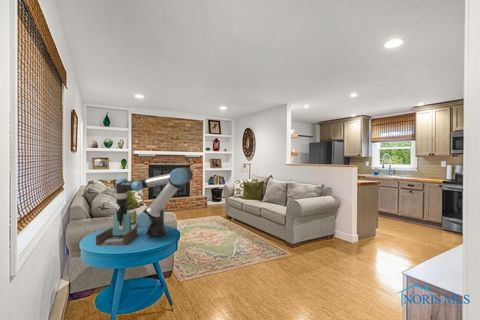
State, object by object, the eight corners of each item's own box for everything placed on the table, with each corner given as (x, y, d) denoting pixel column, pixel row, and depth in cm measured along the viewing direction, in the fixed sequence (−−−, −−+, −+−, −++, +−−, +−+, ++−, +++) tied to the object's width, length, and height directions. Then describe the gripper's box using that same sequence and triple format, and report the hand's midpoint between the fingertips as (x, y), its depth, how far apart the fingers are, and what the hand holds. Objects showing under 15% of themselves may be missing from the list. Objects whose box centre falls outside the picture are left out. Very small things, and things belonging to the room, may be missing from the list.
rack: (137, 237, 190) (137, 227, 190) (124, 247, 169) (124, 235, 169) (111, 237, 190) (111, 227, 190) (95, 247, 170) (95, 235, 169)
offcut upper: (124, 241, 178) (124, 238, 178) (122, 243, 173) (122, 241, 173) (106, 242, 176) (106, 239, 176) (104, 244, 171) (104, 242, 171)
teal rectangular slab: (131, 233, 188) (130, 214, 188) (129, 234, 185) (129, 214, 185) (115, 233, 188) (115, 214, 188) (113, 234, 185) (113, 215, 185)
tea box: (115, 229, 210) (115, 212, 210) (119, 226, 220) (118, 210, 220) (134, 228, 213) (133, 212, 213) (136, 225, 223) (136, 209, 223)
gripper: (122, 196, 194) (122, 225, 194) (111, 200, 178) (112, 231, 178) (131, 196, 194) (132, 225, 194) (121, 200, 178) (122, 231, 178)
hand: (122, 228), depth 186 cm, fingers closed on teal rectangular slab, 3 cm apart
